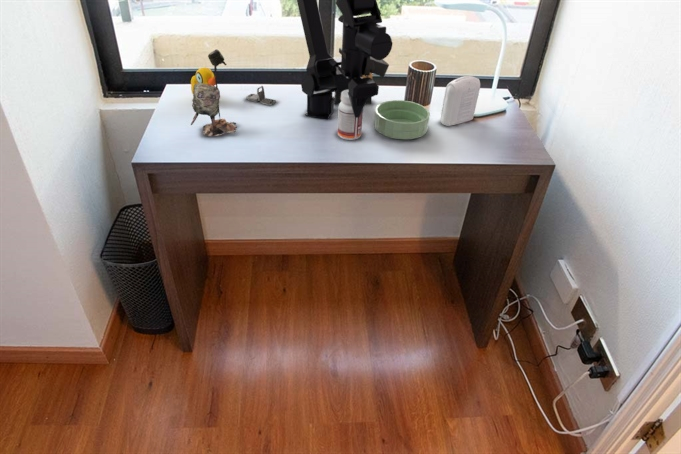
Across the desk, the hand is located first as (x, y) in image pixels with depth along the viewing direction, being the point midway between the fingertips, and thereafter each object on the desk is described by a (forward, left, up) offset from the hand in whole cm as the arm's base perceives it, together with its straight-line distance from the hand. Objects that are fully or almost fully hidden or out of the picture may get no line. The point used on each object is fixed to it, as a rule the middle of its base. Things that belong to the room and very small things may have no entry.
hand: (350, 109), depth 126 cm
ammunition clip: (-4, +20, -7) cm, 22 cm away
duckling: (-43, +6, -7) cm, 44 cm away
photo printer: (+26, +18, -7) cm, 32 cm away
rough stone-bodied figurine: (-33, -9, -7) cm, 35 cm away
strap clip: (-29, +12, -7) cm, 32 cm away
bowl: (+12, +8, -7) cm, 16 cm away
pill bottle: (0, 0, -7) cm, 7 cm away
